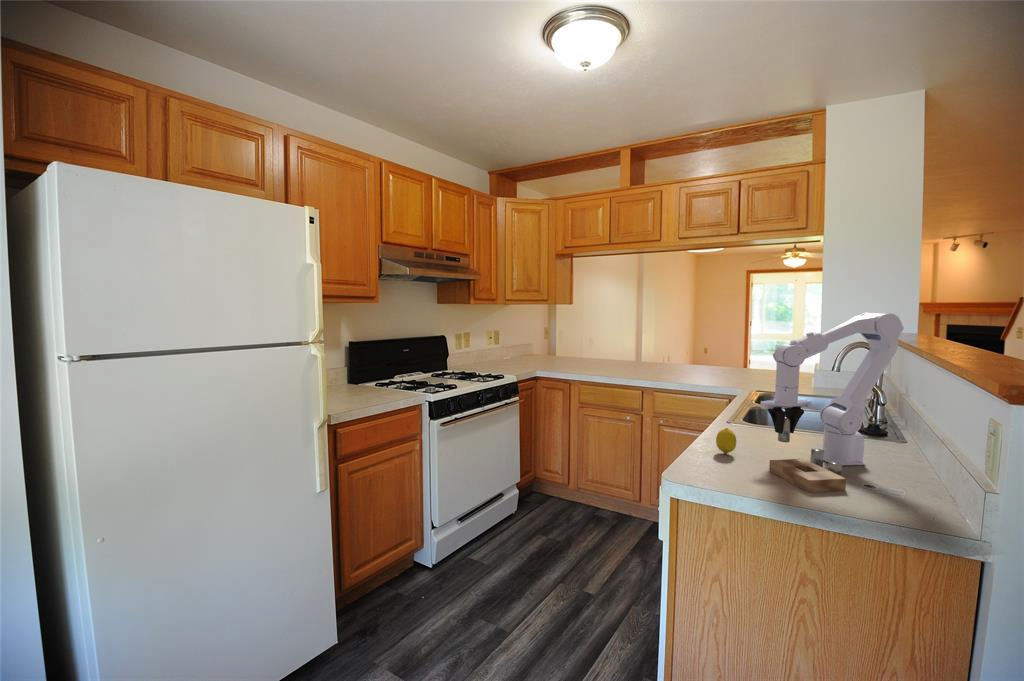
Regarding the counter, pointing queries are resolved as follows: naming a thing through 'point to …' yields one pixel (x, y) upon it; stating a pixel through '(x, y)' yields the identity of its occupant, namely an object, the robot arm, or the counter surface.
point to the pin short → (835, 467)
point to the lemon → (726, 440)
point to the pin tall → (785, 430)
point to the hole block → (808, 475)
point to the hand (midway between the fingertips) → (784, 432)
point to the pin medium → (817, 456)
